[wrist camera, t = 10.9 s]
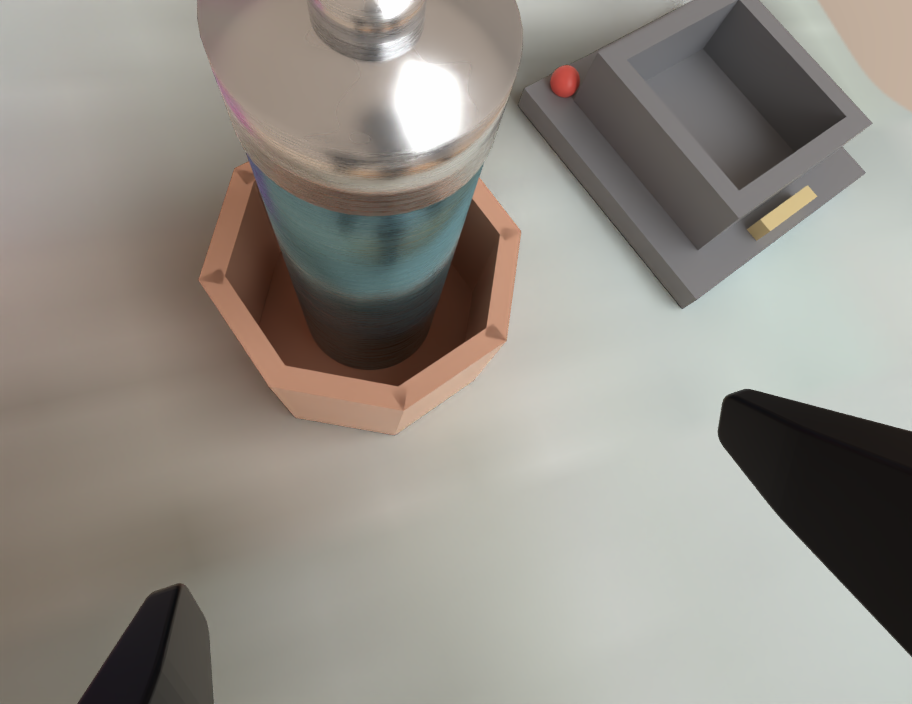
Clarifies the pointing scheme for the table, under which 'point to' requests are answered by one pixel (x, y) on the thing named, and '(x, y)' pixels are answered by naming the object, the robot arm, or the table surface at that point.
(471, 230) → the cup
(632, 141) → the tray
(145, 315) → the table surface
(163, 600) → the robot arm
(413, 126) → the battery
